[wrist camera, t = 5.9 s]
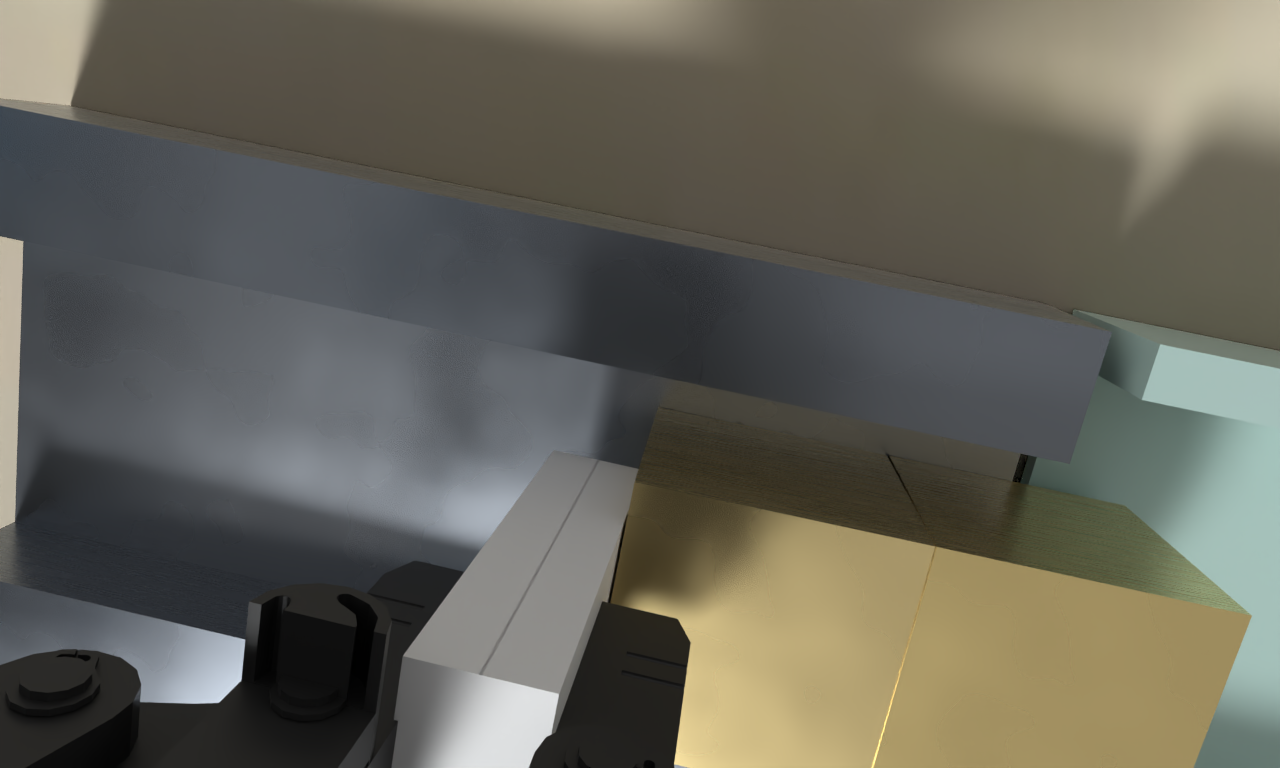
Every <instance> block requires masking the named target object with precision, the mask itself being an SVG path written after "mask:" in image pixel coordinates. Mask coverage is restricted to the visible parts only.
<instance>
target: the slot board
mask: <svg viewBox="0 0 1280 768" xmlns="http://www.w3.org/2000/svg"><path fill="white" fill-rule="evenodd" d="M0 236H2V237H7V238H11V239H16V240H21V241H24V242H23V276H22V310H21V344H20V377H19V411H18V445H17V478H16V512H15V522H14V523H12V524H10V525H8V526H5V527H3V528H1V529H0V665H2V664H5V663H8V662H11V661H14V660H17V659H20V658H23V657H26V656H29V655H32V654H37V653H44V652H51V651H57V650H62V649H78V650H81V649H83V650H92V651H99V652H103V653H106V654H110V655H114V656H117V657H121V658H122V659H124V660H125V661H126V662H128V663H129V664H130V665H132V666H133V667H134V668H136V669H137V671H138V675H139V678H140V682H141V697H140V702H154V703H188V704H200V703H219V702H220V701H221V700H222V699H223V698H224V697H225V696H226V695H227V694H228V693H229V692H230V691H231V690H232V689H233V688H234V687H235V686H236V685H237V684H238V683H239V682H241V679H242V669H243V658H244V648H245V637H246V627H247V617H248V606H249V601H251V600H253V599H255V598H256V597H258V596H260V595H262V594H264V593H265V592H267V591H270V590H274V589H278V588H282V587H286V586H290V585H294V584H315V583H324V584H331V585H339V586H346V587H350V588H353V589H356V590H359V591H361V592H364V593H367V592H368V591H369V590H370V589H371V588H372V587H373V586H374V584H375V583H376V582H377V581H378V580H379V579H380V578H381V577H382V576H383V575H384V574H385V573H387V572H389V571H392V570H394V569H396V568H399V567H401V566H403V565H406V564H408V563H410V562H413V561H415V560H416V561H420V562H425V563H429V564H433V565H437V566H442V567H446V568H450V569H454V570H459V571H463V572H465V571H466V569H467V568H468V567H469V565H470V564H471V562H472V561H473V560H474V558H475V557H476V556H477V554H478V553H479V552H480V550H481V549H482V547H483V546H484V545H485V543H486V542H487V541H488V539H489V538H490V537H491V535H492V534H493V532H494V531H495V530H496V528H497V527H498V526H499V524H500V523H501V522H502V520H503V519H504V517H505V516H506V515H507V513H508V512H509V511H510V509H511V508H512V507H513V505H514V504H515V502H516V501H517V500H518V498H519V497H520V496H521V494H522V493H523V492H524V490H525V489H526V487H527V486H528V485H529V483H530V482H531V481H532V479H533V478H534V477H535V475H536V474H537V472H538V471H539V470H540V468H541V467H542V466H543V464H544V463H545V462H546V460H547V459H548V457H549V456H550V455H551V453H552V452H553V451H554V450H556V451H560V452H565V453H569V454H574V455H578V456H583V457H587V458H592V459H596V460H601V461H605V462H610V463H614V464H619V465H623V466H628V467H632V468H637V469H639V466H640V463H641V460H642V457H643V454H644V451H645V447H646V444H647V441H648V438H649V435H650V432H651V429H652V425H653V422H654V419H655V416H656V413H657V410H658V407H661V408H665V409H670V410H675V411H680V412H684V413H689V414H694V415H699V416H704V417H708V418H713V419H718V420H723V421H727V422H732V423H737V424H742V425H746V426H751V427H756V428H761V429H765V430H770V431H775V432H780V433H784V434H789V435H794V436H798V437H803V438H808V439H812V440H817V441H822V442H827V443H831V444H836V445H841V446H845V447H850V448H855V449H859V450H864V451H869V452H873V453H878V454H883V455H887V457H888V458H889V455H890V456H895V457H900V458H904V459H909V460H914V461H919V462H923V463H928V464H933V465H937V466H942V467H947V468H951V469H956V470H961V471H966V472H970V473H975V474H980V475H984V476H989V477H994V478H998V479H1003V480H1008V481H1012V480H1013V477H1014V474H1015V471H1016V467H1017V464H1018V461H1019V458H1020V454H1025V455H1030V456H1034V457H1039V458H1044V459H1048V460H1053V461H1058V462H1063V463H1067V464H1070V462H1071V458H1072V455H1073V452H1074V449H1075V446H1076V443H1077V440H1078V437H1079V434H1080V430H1081V427H1082V424H1083V421H1084V418H1085V415H1086V412H1087V409H1088V406H1089V402H1090V399H1091V396H1092V393H1093V390H1094V387H1095V384H1096V381H1097V378H1098V374H1099V371H1100V368H1101V365H1102V362H1103V359H1104V356H1105V353H1106V350H1107V346H1108V343H1109V340H1110V337H1111V334H1112V332H1111V331H1109V330H1106V329H1104V328H1102V327H1099V326H1097V325H1095V324H1092V323H1090V322H1087V321H1085V320H1083V319H1080V318H1078V317H1076V316H1073V315H1071V314H1069V313H1066V312H1064V311H1062V310H1059V309H1057V308H1055V307H1052V306H1050V305H1048V304H1045V303H1041V302H1036V301H1031V300H1026V299H1021V298H1016V297H1011V296H1006V295H1002V294H997V293H992V292H987V291H982V290H977V289H972V288H967V287H962V286H957V285H952V284H947V283H942V282H937V281H932V280H928V279H923V278H918V277H913V276H908V275H903V274H898V273H893V272H888V271H883V270H878V269H873V268H868V267H863V266H858V265H854V264H849V263H844V262H839V261H834V260H829V259H824V258H819V257H814V256H809V255H804V254H799V253H794V252H789V251H784V250H779V249H775V248H770V247H765V246H760V245H755V244H750V243H745V242H740V241H735V240H730V239H725V238H720V237H715V236H710V235H705V234H701V233H696V232H691V231H686V230H681V229H676V228H671V227H666V226H661V225H656V224H651V223H646V222H641V221H636V220H631V219H626V218H622V217H617V216H612V215H607V214H602V213H597V212H592V211H587V210H582V209H577V208H572V207H567V206H562V205H557V204H552V203H548V202H543V201H538V200H533V199H528V198H523V197H518V196H513V195H508V194H503V193H498V192H493V191H488V190H483V189H478V188H474V187H469V186H464V185H459V184H454V183H449V182H444V181H439V180H434V179H429V178H424V177H419V176H414V175H409V174H404V173H399V172H395V171H390V170H385V169H380V168H375V167H370V166H365V165H360V164H355V163H350V162H345V161H340V160H335V159H330V158H325V157H321V156H316V155H311V154H306V153H301V152H296V151H291V150H286V149H281V148H276V147H271V146H266V145H261V144H256V143H251V142H247V141H242V140H237V139H232V138H227V137H222V136H217V135H212V134H207V133H202V132H197V131H192V130H187V129H182V128H177V127H172V126H168V125H163V124H158V123H153V122H148V121H143V120H138V119H133V118H128V117H123V116H118V115H113V114H108V113H103V112H98V111H94V110H89V109H84V108H79V107H74V106H69V105H59V104H50V103H40V102H30V101H20V100H11V99H1V98H0ZM674 768H688V767H684V766H680V765H675V764H674Z"/></svg>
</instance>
